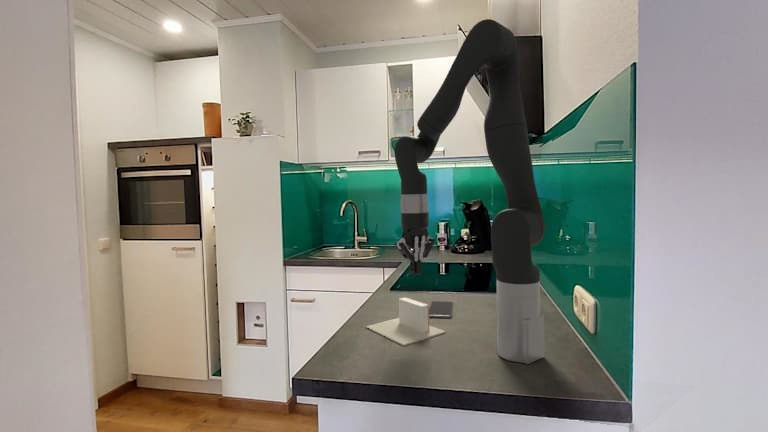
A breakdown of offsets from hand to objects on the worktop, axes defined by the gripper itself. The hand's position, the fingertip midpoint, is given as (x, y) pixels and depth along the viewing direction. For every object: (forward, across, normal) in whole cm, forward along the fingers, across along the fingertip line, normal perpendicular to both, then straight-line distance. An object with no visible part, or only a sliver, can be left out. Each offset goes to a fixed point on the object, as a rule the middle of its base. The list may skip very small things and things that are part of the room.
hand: (416, 274), depth 110 cm
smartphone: (+16, +16, +7) cm, 23 cm away
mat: (+15, -4, +1) cm, 15 cm away
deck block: (+14, -1, 0) cm, 15 cm away
